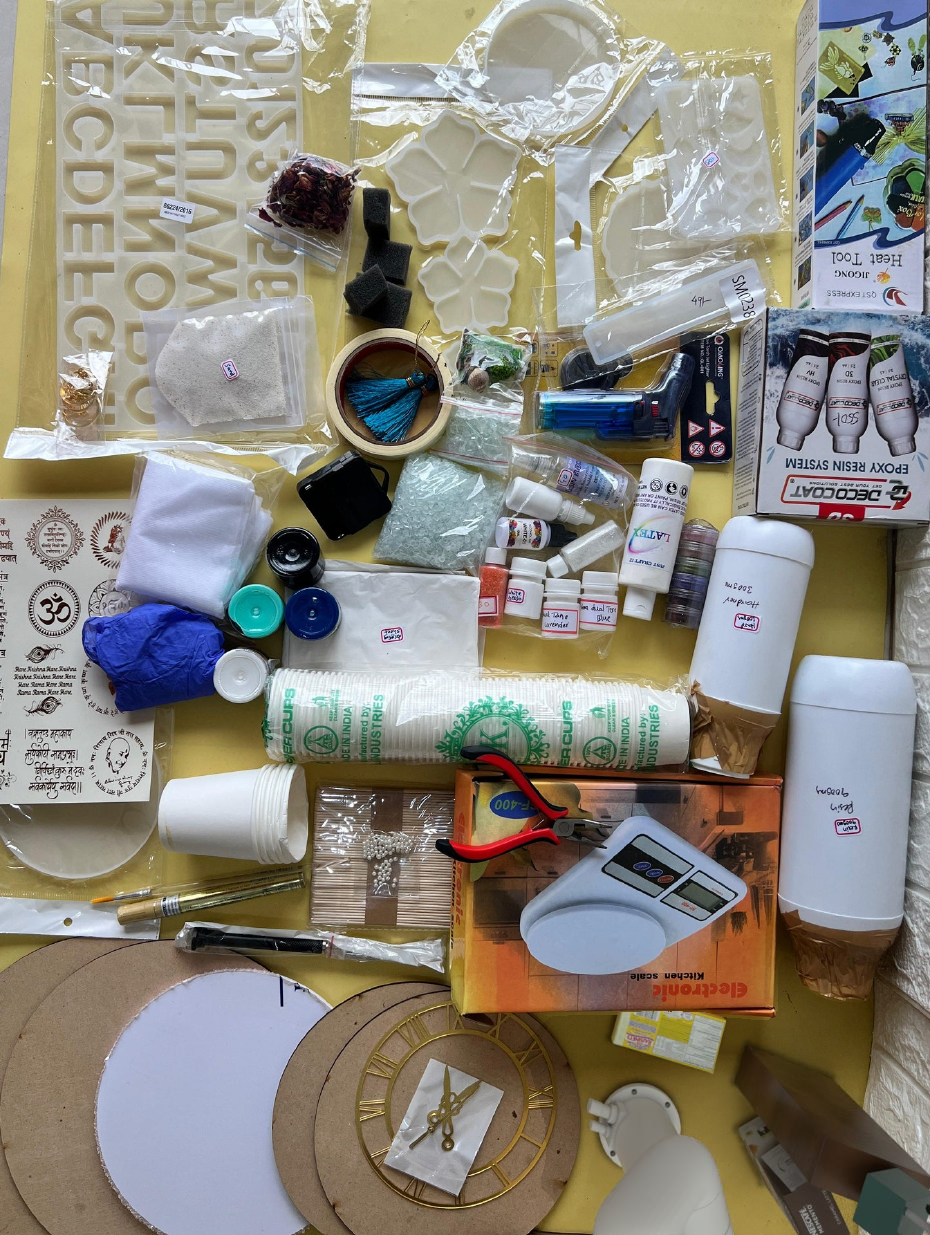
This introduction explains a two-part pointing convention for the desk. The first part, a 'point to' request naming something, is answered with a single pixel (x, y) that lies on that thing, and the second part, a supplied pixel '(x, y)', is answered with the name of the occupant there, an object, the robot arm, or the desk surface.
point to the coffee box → (791, 1185)
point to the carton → (892, 1204)
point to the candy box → (672, 1036)
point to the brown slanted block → (820, 1125)
